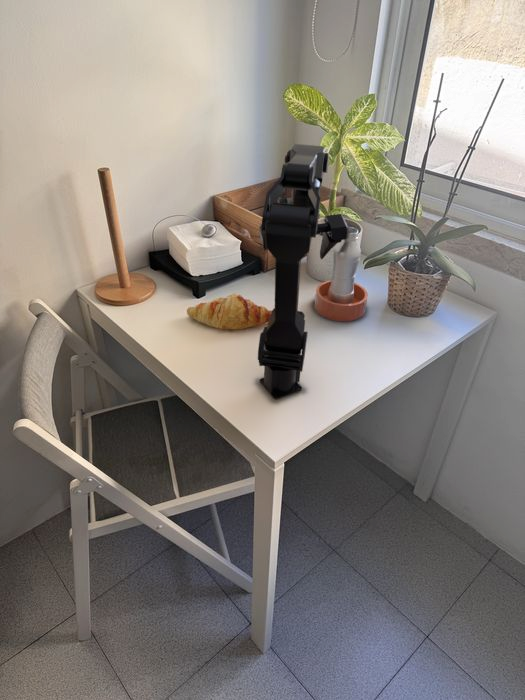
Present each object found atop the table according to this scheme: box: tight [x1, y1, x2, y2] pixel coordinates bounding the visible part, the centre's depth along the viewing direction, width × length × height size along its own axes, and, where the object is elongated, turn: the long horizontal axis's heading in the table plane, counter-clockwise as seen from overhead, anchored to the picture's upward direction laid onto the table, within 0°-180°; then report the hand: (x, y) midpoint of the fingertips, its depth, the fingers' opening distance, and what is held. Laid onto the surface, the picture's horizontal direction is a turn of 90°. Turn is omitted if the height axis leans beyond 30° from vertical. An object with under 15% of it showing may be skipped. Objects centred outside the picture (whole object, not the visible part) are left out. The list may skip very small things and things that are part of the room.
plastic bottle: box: [328, 226, 362, 304], centre depth 122 cm, size 6×7×20 cm
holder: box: [314, 279, 369, 322], centre depth 127 cm, size 13×13×4 cm
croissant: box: [186, 293, 272, 330], centre depth 120 cm, size 21×10×8 cm, turn 87°
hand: (301, 260), depth 117 cm, fingers open, 9 cm apart
